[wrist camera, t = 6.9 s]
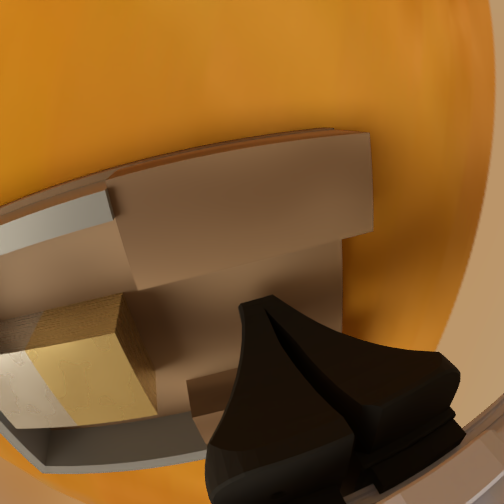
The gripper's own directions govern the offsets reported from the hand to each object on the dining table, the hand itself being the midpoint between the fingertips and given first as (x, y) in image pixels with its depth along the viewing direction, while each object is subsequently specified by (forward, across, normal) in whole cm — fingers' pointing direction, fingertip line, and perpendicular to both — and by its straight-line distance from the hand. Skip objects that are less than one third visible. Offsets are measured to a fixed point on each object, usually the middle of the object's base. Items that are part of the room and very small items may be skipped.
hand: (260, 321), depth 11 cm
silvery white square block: (+1, +10, 0) cm, 10 cm away
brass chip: (+1, +6, 0) cm, 6 cm away
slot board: (+2, +4, 0) cm, 5 cm away
